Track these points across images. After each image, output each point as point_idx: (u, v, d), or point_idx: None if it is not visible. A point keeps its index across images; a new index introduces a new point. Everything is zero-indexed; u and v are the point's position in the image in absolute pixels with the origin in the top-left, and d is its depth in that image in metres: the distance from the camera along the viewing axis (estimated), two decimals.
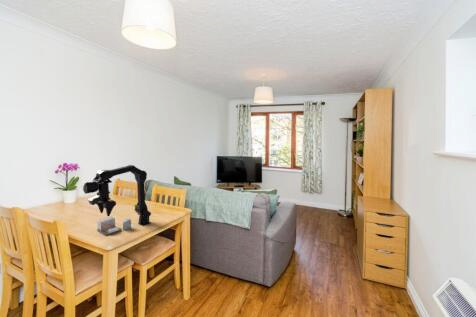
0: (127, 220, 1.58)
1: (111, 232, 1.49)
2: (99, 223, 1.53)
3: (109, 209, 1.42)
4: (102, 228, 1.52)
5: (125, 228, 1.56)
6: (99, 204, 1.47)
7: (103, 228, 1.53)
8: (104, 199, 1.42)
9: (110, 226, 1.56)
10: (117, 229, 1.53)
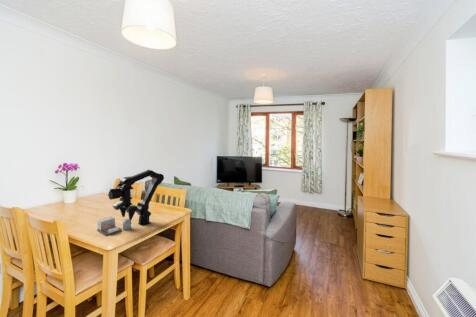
0: (127, 220, 1.58)
1: (111, 232, 1.49)
2: (99, 223, 1.53)
3: (131, 214, 1.54)
4: (102, 228, 1.52)
5: (125, 228, 1.56)
6: (121, 209, 1.59)
7: (103, 228, 1.53)
8: (127, 204, 1.54)
9: (110, 226, 1.56)
10: (117, 229, 1.53)
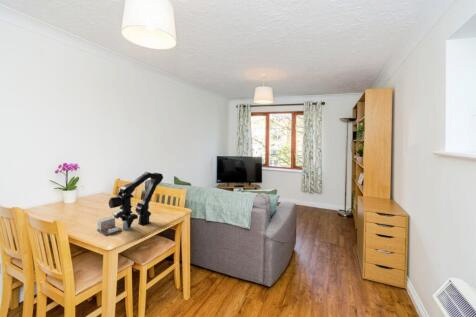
0: None
1: (111, 232, 1.49)
2: (99, 223, 1.53)
3: (130, 221, 1.56)
4: (102, 228, 1.52)
5: (125, 228, 1.56)
6: (123, 218, 1.59)
7: (103, 228, 1.53)
8: (127, 213, 1.55)
9: (110, 226, 1.56)
10: (117, 229, 1.53)
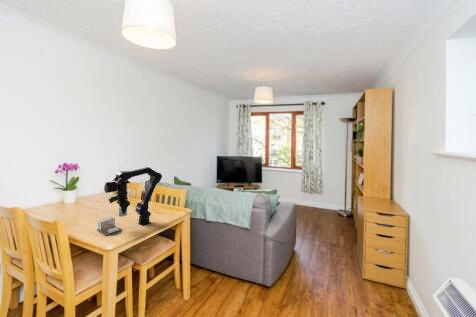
0: None
1: (111, 232, 1.49)
2: (99, 223, 1.53)
3: (124, 208, 1.53)
4: (102, 228, 1.52)
5: (120, 214, 1.54)
6: None
7: (103, 228, 1.53)
8: (121, 198, 1.52)
9: (110, 226, 1.56)
10: (117, 229, 1.53)
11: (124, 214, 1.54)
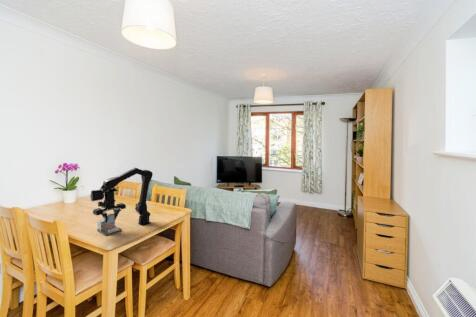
0: (110, 215, 1.52)
1: (111, 232, 1.49)
2: (99, 223, 1.53)
3: None
4: (102, 228, 1.52)
5: None
6: (114, 211, 1.55)
7: (103, 228, 1.53)
8: (105, 206, 1.50)
9: (110, 226, 1.56)
10: (117, 229, 1.53)
11: (107, 223, 1.51)
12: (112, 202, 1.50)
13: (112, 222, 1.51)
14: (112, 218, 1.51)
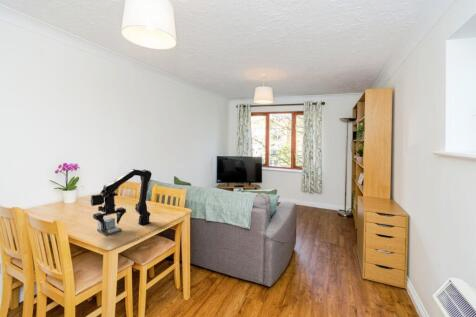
0: (110, 221, 1.52)
1: (111, 232, 1.49)
2: (99, 223, 1.53)
3: (101, 222, 1.48)
4: (102, 228, 1.52)
5: None
6: (117, 215, 1.57)
7: (103, 228, 1.53)
8: (105, 211, 1.50)
9: None
10: (117, 229, 1.53)
11: (107, 229, 1.51)
12: (112, 207, 1.50)
13: (112, 228, 1.52)
14: (112, 224, 1.52)
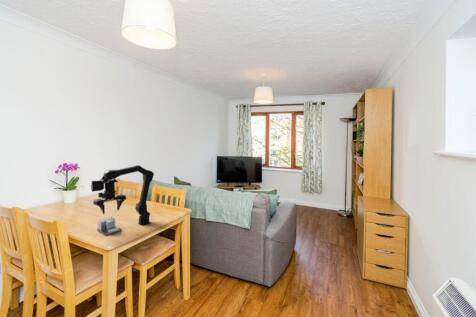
0: (110, 221, 1.52)
1: (111, 232, 1.49)
2: (99, 223, 1.53)
3: (101, 208, 1.48)
4: (102, 228, 1.52)
5: None
6: (117, 201, 1.57)
7: (103, 228, 1.53)
8: (105, 197, 1.51)
9: None
10: (117, 229, 1.53)
11: (107, 229, 1.51)
12: (112, 193, 1.51)
13: (112, 228, 1.52)
14: (112, 224, 1.52)
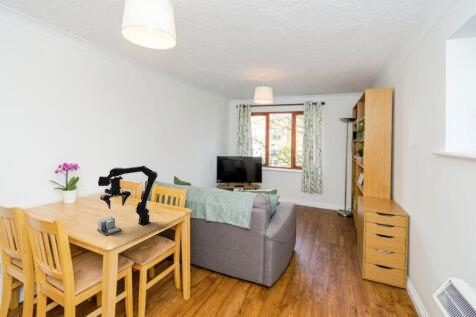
0: (110, 221, 1.52)
1: (111, 232, 1.49)
2: (99, 223, 1.53)
3: (107, 203, 1.58)
4: (102, 228, 1.52)
5: None
6: (122, 197, 1.67)
7: (103, 228, 1.53)
8: (111, 193, 1.61)
9: None
10: (117, 229, 1.53)
11: (107, 229, 1.51)
12: (118, 189, 1.61)
13: (112, 228, 1.52)
14: (112, 224, 1.52)
